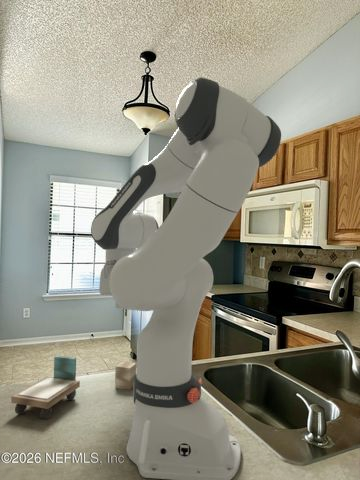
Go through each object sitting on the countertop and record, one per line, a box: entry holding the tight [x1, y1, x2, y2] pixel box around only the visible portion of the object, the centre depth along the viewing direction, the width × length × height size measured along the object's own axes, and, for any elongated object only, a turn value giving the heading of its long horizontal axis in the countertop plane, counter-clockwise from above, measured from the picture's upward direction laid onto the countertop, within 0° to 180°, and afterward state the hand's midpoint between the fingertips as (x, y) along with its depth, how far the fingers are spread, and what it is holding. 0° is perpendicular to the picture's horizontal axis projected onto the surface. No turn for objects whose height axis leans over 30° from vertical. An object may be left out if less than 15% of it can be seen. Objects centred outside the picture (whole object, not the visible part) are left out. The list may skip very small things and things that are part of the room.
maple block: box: [114, 361, 137, 390], centre depth 98 cm, size 4×4×6 cm
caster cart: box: [10, 355, 81, 420], centre depth 84 cm, size 10×14×10 cm
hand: (120, 307), depth 98 cm, fingers closed
